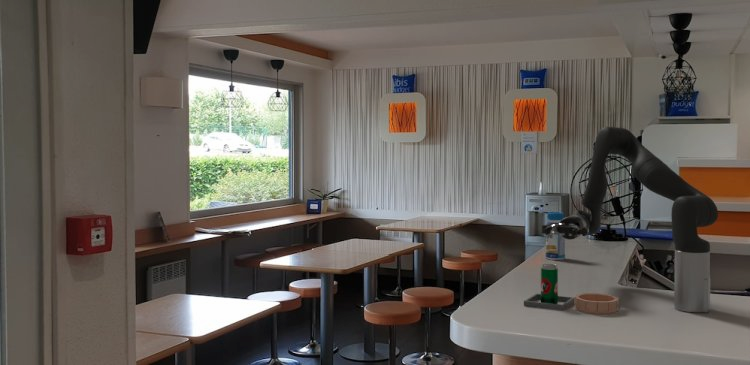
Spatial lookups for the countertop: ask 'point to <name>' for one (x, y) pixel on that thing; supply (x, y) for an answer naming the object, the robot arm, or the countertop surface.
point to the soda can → (549, 283)
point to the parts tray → (567, 303)
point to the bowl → (596, 303)
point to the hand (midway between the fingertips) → (559, 232)
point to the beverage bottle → (555, 239)
